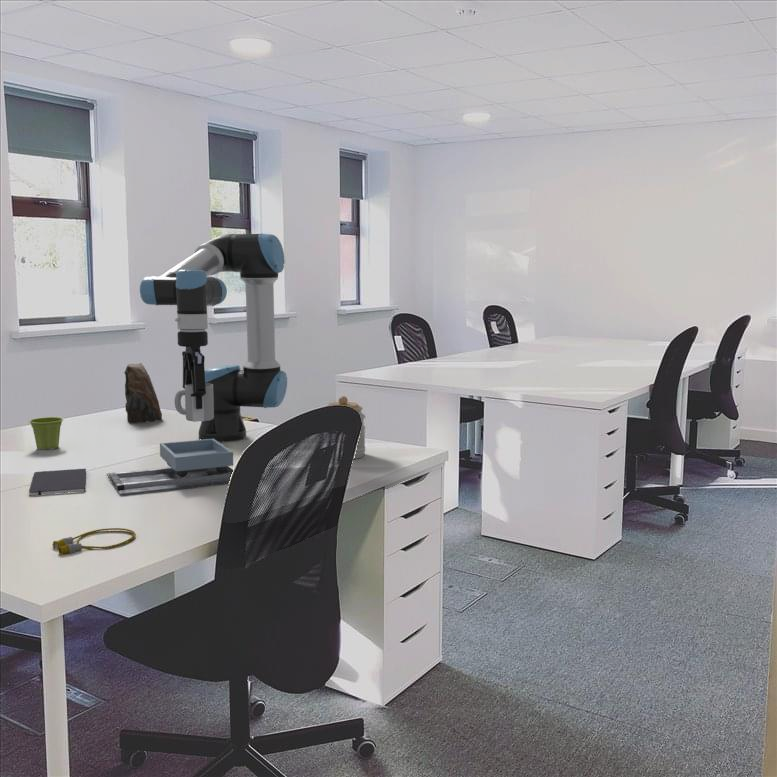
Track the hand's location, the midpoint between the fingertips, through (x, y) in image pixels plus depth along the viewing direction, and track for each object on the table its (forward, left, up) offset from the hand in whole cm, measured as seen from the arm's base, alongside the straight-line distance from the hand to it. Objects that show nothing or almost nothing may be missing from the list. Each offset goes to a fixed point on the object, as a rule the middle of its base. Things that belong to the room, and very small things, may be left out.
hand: (194, 418), depth 217 cm
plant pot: (+32, -54, -16) cm, 65 cm away
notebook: (+33, -8, -16) cm, 38 cm away
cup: (0, -1, 0) cm, 1 cm away
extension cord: (+31, +44, -16) cm, 56 cm away
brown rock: (-3, -90, -16) cm, 91 cm away
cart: (0, 0, -14) cm, 14 cm away
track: (+6, 0, -15) cm, 17 cm away
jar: (-45, -7, -16) cm, 48 cm away
